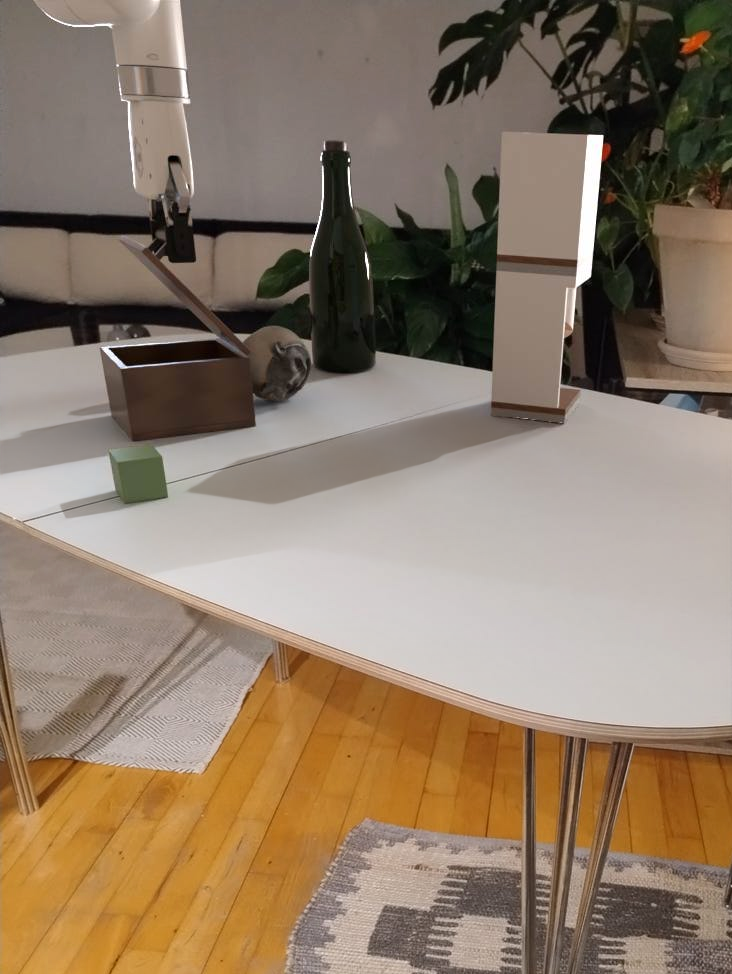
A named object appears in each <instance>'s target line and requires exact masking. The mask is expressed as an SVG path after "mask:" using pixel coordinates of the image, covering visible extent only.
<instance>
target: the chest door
mask: <svg viewBox="0 0 732 974" xmlns="http://www.w3.org/2000/svg"><path fill="white" fill-rule="evenodd" d="M155 237H156V238H155V239H154V240H153V241H152V240H151V241H150V243H149V244H148V245H147V246H145V245H143V244H141V243H139V242H137V241H134V240H133V239H131V238H129V237H127V236H125V235H123V234H122V235H120V236H119V238H118V241H119V242H120V243H121V244H122V245H123V246H124V247H125V248H126V249H127V250H128V251H129V252H130V253H131V254H132V255H133V256H134V257H135V258H136V259H137V260H138V261H139V262H140V263H141V264H142V265H143V266H144V267H145V268H146V269H147V270H148V271H149V272H150V273H152V274H153V276H154V277H156V279H158V281H160V282H161V284H163V285H164V287H166V288H167V290H169V291H170V293H172V294H173V295H174V296H175V297H176V298H177V299H178V300H179V301H180V302H181V303H182V304H183V305H184V306H185V307H187V308H188V310H190V311H191V313H192V314H194V316H196V317H197V318H198V319H199V320H200V322H201V323H203V324H204V325H205V326H206V327H207V328H208V329H209V330H210V331H211V332H212V333H213V334H214V335H215V336H216V337H217V338H220V339H222V340H223V341H225V342H226V343H228V344H229V345H231V346H232V347H234V348H235V349H237V350H239V351H240V352H242V353H243V354H245V355H247V356H248V355H249V353H250V352H251V351H250V350H249V349H248V348H247V347H246V346H245V345H244V344H243V341H242V340H241V339H240V338H239V337H237V335H236V334H235V333H234V332H232V331H231V330H230V328H228V326H227V325H226V324H224V323H223V322H222V320H221V319H220V318H218V316H216V314H214V312H213V311H211V309H209V307H208V306H206V305H205V304H204V303H203V302H202V301H201V300H200V298H199V297H197V295H195V294H194V293H193V292H192V290H190V289H189V288H188V286H186V285H185V284H184V283H183V282H182V281H181V279H179V278H178V277H177V276H176V275H175V274H174V273H173V272H172V271H171V270H170V269H169V268H168V267H167V266H166V264H164V263H163V262H162V261H161V260H162V258H163V257H165V256H164V255H165V254H166V253H167V245H166V237H165V229H164V227H163V226H160V227H158V228H157V229H156V230H155ZM161 242H162V243H164V245H163V246H162V247H161V248H160V249H159V250H158V251H157V252H156V253H155V254H154V250H155V249H156V248H157V246H158V245H159V244H160V243H161Z"/></svg>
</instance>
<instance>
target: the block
mask: <svg viewBox="0 0 732 974" xmlns="http://www.w3.org/2000/svg"><path fill="white" fill-rule="evenodd" d="M108 457H109V462H110V467H111V473H112V479H113V485H114V491H116V493H117V494H118V496H119V498H120V499H121V501H122V502H123V503H124V505H125V504H133V503H138V502H145V501H153V500H159V499H164V498H163V497H165V498H169V492H168V485H167V479H166V472H165V466H164V459H163V456H162V455H161V453H160V452H159V451H158V450H157V448H156V447H155V446H154V445H153V444H144V445H135V446H129V447H120V448H111V449H108ZM158 498H159V499H158Z"/></svg>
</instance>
